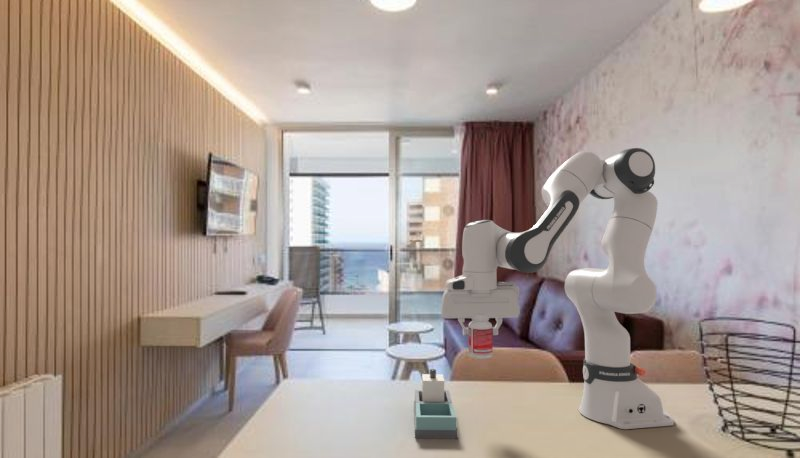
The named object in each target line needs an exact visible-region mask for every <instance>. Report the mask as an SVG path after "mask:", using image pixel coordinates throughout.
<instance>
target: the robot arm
mask: <svg viewBox="0 0 800 458" xmlns="http://www.w3.org/2000/svg"><path fill="white" fill-rule="evenodd" d="M655 163H656V162H655V159H654V158H653V156H652V153H650V152H649V151H648V150H646V149H644V148H641V147H640V148H639V147H633V148H627V149H624V150H622V151H620V152H619V153H616V154H613V155H611V156H610V157H608V158H606V159H605V160H603V159H601V158H600V157H599V156H598V155H597V154H596V153H593V152H592V151H588V150H585V151H584V150H582V151H579V152H577V153H575V154H574V155H572V156H570V157H569V158H568V159H567V160H566V161H564V162H563V163H562V164H561V165H560V166H559V167H557V168H556V169H555V171H554V172H552V173H551V175H550V176H549V177H548V179H547V180H545V183H544V184H543V186H542V187H541V196H542V197H541V198H542V200H543V202H544V204H545V205H546V206H547V207H548V208H547V209H546V210H545V212H544V213H543V215H541V217H540V218H539V219H538V221H537V222H536V223H535V224H534V225H533V226H532V227H531V228H529V229H528V230H525V231H521V232H512V231H509V230H507V229H505V228H502V227H500V226H499V225H497V224H496V223H495V222H494V221H493V220H491V219H482V220H477V221H476V220H475V221H472V222H469V223H467V224H466V225H465V226H464V228H463V232H462V242H461V244H462V245H461V249H462V251H461V252H462V253H461V254H462V258H463V264H462V265H463V266H462V274H461V275H458V276H455V277H453V278H449V279H447V280H446V281H445V288H446V289H445V290H444V292H443V294H442V298H441V308H440V314H441V316H442V317H443V318H444V319H457V321H458V323H459V325H460V327H461V328H462V336H469V328H468V326H467V327H466V326H465V324H464V323H465V319H471V318H475V316H476V315H487V316H488V318H489V319H495V321H496V324H495V325H494V326H492V336H498V335H499V329H500V327H501V325H502V324H503V319H510V318H511V319H515V318H518V317H519V316H520V314H521V312H520V311H521V310H520V304H519V303H520V302H519V298H520V295H521V294H520V286H519V285H518V284H517V283H516V282H514V281H498V279H497V277H498V276H497V269H498V267H500V268H504V269H509V270H516V271H518V272H521V273H523V274H531V273H536V272H538V271H539V270H541V269H542V268H543V267H544V266H545V264H546V262H547V260H548V259H549V256H550V253H551V250H552V248H553V247H554V246H553V245H555V242H556V241H557V240H558V239H559V238H560V236H561V235H562V233H563V232H564V231H565V229H566V227H568V225H569V224H570V222H571V221H572V219H574V217H575V215H576V214H577V212H578V210H579V207H580V205H581V203H582V202H584V200H585V199H586V198H587V197H588V195H590V196H592V197H593V198H596V199H599V200H610V199H613V204H614V207H613V211H612V213H611V215H610V218H609V220H608V222H607V225H606V228H605V231H604V233H603V236H602V239H601V243H600V245H601V250H602V251H603V252H604V254H606V255H607V256H608V259H609V260H608V261H609V262H608V266H607V268H597V267H596V268H594V267H584V268H579V269H574V270H572V271H570V272H569V273H568V274H567V275H566V278H565V281H564V292H565V295H566V296H567V298H568V299H569V300H570V301H571V302H572V303H573V305H574V306H575V308H576V310H577V312H578V314H579V317H580V320H581V323H582V327H583V333H584V358H583V367H582V375H583V376H582V377H583V380H584V382H583V391H582V395H581V396H582V397H581V401H580V405H579V407H578V411H579V413H580V414H581V415H582V416H583V417H585V418H587V419H589V420H591V421H595V422H598V423H602V424H606V425H610V426H612V427H615V428H618V429H621V430H630V429H632V430H634V429H643V428H657V427H670V426H674V424H675V423H674V418H673V417H672V416H671V415H670V414H669V412H666V410H664V407H663V402H662V399H661V397H660V396H659V395H658V393H657V392H656V391H655V390H653V389H652V388H651V387H650V386H649V385H648V384H646V383H645V382H644V381H642V380H641V379H639V377H644V376H645V375H646V374H647V371H646V370H645V369H644V368H643V367H642V366H637V365H635V364H634V363H632V362H631V336H630V333H629V332H628V330H627V329H626V328H625V327H624V326H623V325H622V324H621V323H620V322H619V320H618V318H617V315H616V313H619V314H625V315H627V314H628V315H630V314H631V315H632V314H633V315H634V314H644V313H647V312H649V311H650V310H652V308H653V307H654V305H655V303H656V301H657V294H658V293H657V287H656V285H655V283H654V281H653V280H652V279H651V278H650V276H649V275H648V274H647V271H646V267H645V256H646V251H647V248H648V245H649V242H650V239H651V236H652V233H653V229H654V226H655V223H656V218H657V212H658V199H657V197H656V196H655V195H654V193H652V192H651V190H650V189H652V187H654V185H655V174H656V164H655ZM638 375H639V377H638Z"/></svg>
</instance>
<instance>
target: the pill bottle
mask: <svg viewBox="0 0 800 458" xmlns="http://www.w3.org/2000/svg"><path fill="white" fill-rule="evenodd" d="M470 319H471V321H470V322H468V326H467V327H468V328H469V335H468V355H469V357H471V358H473V359H478V360H479V359H481V360H484V359H490V358H492V356H493V335H492V327H493V325H492V323H491V322H489V320H490V318H488V316H487V315H476V316H475V318H470Z"/></svg>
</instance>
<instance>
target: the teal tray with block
mask: <svg viewBox="0 0 800 458" xmlns="http://www.w3.org/2000/svg"><path fill="white" fill-rule="evenodd" d="M413 416H414V417H413V418H414V419H413V423H414V438H415V439H458V427H457V416H456V410H455V407H454V404H453V400H452V397H451V393H450V390H449V389H447V390H446V389H445V378H444V374H441V373H440V374H439V373H437V370H436V369H434V368H431V369H429V373H426V374H425V373H422V374H421V389H414V401H413Z"/></svg>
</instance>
